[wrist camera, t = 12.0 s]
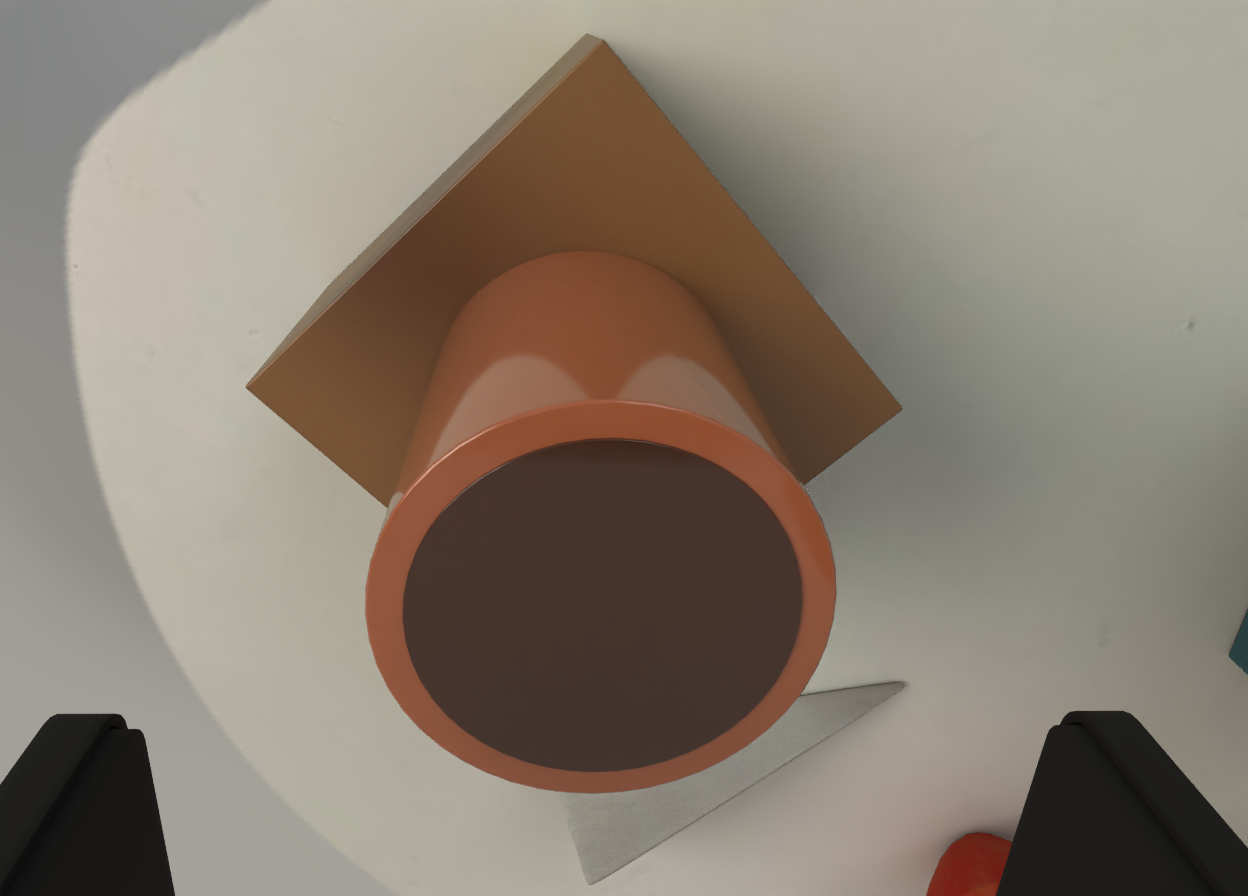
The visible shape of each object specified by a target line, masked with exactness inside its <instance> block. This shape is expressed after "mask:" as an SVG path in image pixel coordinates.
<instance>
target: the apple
mask: <svg viewBox="0 0 1248 896" xmlns="http://www.w3.org/2000/svg"><path fill="white" fill-rule="evenodd" d="M1011 846H1012V842H1010V841H1007V840H1005V839H1002V838H1000V837H997V836H995V835H992V834H987V833H972V834H967V835H965V836H964V837H962V838H961V839H959V840H957V841H956V842H954V843H953V844H952V845H951V846H950V847H949V848H948V850H947V851H946V852H945V853H944V855H943V856H942V857H941V859H940V861H939V863H938V866H937V868H936V870H935V873H934V875H933V877H932V880H931V882H930V884H929V887H928V891H927V895H926V896H995V895H996V892H997V889H998V886H999V883H1000V880H1001V877H1002V874H1003V871H1004V867H1005V864H1006V861H1007V858H1008V855H1009V852H1010V849H1011Z"/></svg>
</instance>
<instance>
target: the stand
mask: <svg viewBox="0 0 1248 896" xmlns="http://www.w3.org/2000/svg"><path fill="white" fill-rule="evenodd" d="M570 251H598V252H607V253H615V254H619V255H623V256H627V257H631V258H634V259H637V260H639V261H642V262H644V263H647V264H649V265H652V266H654V267H656V268H657V269H659V270H661V271H663V272H665V273H666V274H668V275H670V276H671V277H673V278H674V279H675V280H677V281H678V282H679V283H681V284H682V285H683V286H685V287H686V288H687V289H688V290H689V291H690V292H691V293H692V294H693V295H694V296H695V297H696V298H697V299H698V300H699V301H700V302H701V303H702V305H703V306H704V307H705V309H706V310H707V311H708V313H709V314H710V315H711V317H712V318H713V320H714V322H715V324H716V325H717V327H718V329H719V331H720V333H721V334H722V336H723V338H724V340H725V342H726V344H727V345H728V347H729V349H730V351H731V353H732V355H733V356H734V358H735V360H736V362H737V364H738V366H739V367H740V369H741V371H742V373H743V375H744V377H745V379H746V380H747V382H748V384H749V386H750V388H751V390H752V391H753V393H754V395H755V397H756V399H757V401H758V403H759V404H760V406H761V408H762V410H763V412H764V414H765V415H766V417H767V419H768V421H769V423H770V425H771V426H772V428H773V430H774V432H775V434H776V436H777V438H778V439H779V441H780V443H781V445H782V447H783V449H784V450H785V452H786V454H787V456H788V458H789V460H790V461H791V463H792V465H793V467H794V469H795V471H796V473H797V474H798V476H799V478H800V480H801V482H802V484H803V485H805V484H806V483H808V482H809V481H810V480H812V479H813V478H814V477H815V476H817V475H818V474H819V473H821V472H822V471H823V470H825V469H826V468H827V467H828V466H830V465H831V464H832V463H834V462H835V461H836V460H837V459H839V458H840V457H841V456H843V455H844V454H845V453H847V452H848V451H849V450H850V449H852V448H853V447H854V446H856V445H857V444H858V443H860V442H861V441H862V440H863V439H865V438H866V437H867V436H869V435H870V434H871V433H873V432H874V431H875V430H876V429H878V428H879V427H880V426H882V425H883V424H884V423H886V422H887V421H888V420H889V419H891V418H892V417H893V416H895V415H896V414H897V413H898V412H900V411H901V410H902V406H901V405H900V404H899V403H898V401H897V400H896V399H895V398H894V397H893V395H892V394H891V393H890V392H889V390H888V389H887V388H886V387H885V385H884V384H883V383H882V382H881V381H880V379H879V378H878V377H877V376H876V374H875V373H874V372H873V371H872V369H871V368H870V367H869V366H868V365H867V363H866V362H865V361H864V360H863V358H862V357H861V356H860V355H859V353H858V352H857V351H856V350H855V349H854V347H853V346H852V345H851V344H850V342H849V341H848V340H847V339H846V337H845V336H844V335H843V334H842V332H841V331H840V330H839V329H838V328H837V326H836V325H835V324H834V323H833V321H832V320H831V319H830V318H829V316H828V315H827V314H826V313H825V312H824V310H823V309H822V308H821V307H820V305H819V304H818V303H817V302H816V300H815V299H814V298H813V297H812V296H811V294H810V293H809V292H808V291H807V289H806V288H805V287H804V286H803V284H802V283H801V282H800V281H799V280H798V278H797V277H796V276H795V275H794V273H793V272H792V271H791V270H790V268H789V267H788V266H787V265H786V263H785V262H784V261H783V260H782V259H781V257H780V256H779V255H778V254H777V252H776V251H775V250H774V249H773V247H772V246H771V245H770V244H769V243H768V241H767V240H766V239H765V238H764V236H763V235H762V234H761V233H760V231H759V230H758V229H757V228H756V227H755V225H754V224H753V223H752V222H751V220H750V219H749V218H748V217H747V215H746V214H745V213H744V212H743V211H742V209H741V208H740V207H739V206H738V204H737V203H736V202H735V201H734V199H733V198H732V197H731V196H730V194H729V193H728V192H727V191H726V190H725V188H724V187H723V186H722V185H721V183H720V182H719V181H718V180H717V178H716V177H715V176H714V175H713V174H712V172H711V171H710V170H709V169H708V167H707V166H706V165H705V164H704V162H703V161H702V160H701V159H700V158H699V156H698V155H697V154H696V153H695V151H694V150H693V149H692V148H691V146H690V145H689V144H688V143H687V142H686V140H685V139H684V138H683V137H682V135H681V134H680V133H679V132H678V130H677V129H676V128H675V127H674V125H673V124H672V123H671V122H670V121H669V119H668V118H667V117H666V116H665V114H664V113H663V112H662V111H661V109H660V108H659V107H658V106H657V105H656V103H655V102H654V101H653V100H652V98H651V97H650V96H649V95H648V93H647V92H646V91H645V90H644V89H643V87H642V86H641V85H640V84H639V82H638V81H637V80H636V79H635V77H634V76H633V75H632V74H631V73H630V71H629V70H628V69H627V68H626V66H625V65H624V64H623V63H622V61H621V60H620V59H619V58H618V56H617V55H616V54H615V53H614V52H613V50H612V49H611V48H610V47H609V45H608V44H607V43H606V42H605V41H604V40H602V39H599V38H597V37H594V36H592V35H590V34H585V35H584V36H583V37H582V38H581V39H580V40H579V41H578V42H577V43H576V44H575V45H574V46H573V47H572V48H571V49H570V50H569V51H568V52H567V53H566V54H565V55H564V56H563V57H562V58H561V59H560V60H559V61H558V62H557V63H556V64H555V65H554V66H553V67H551V68H550V69H549V70H548V71H547V72H546V73H545V74H544V75H543V76H542V77H541V78H540V79H539V80H538V81H537V82H536V83H535V84H534V85H533V86H532V87H531V88H530V89H529V90H528V91H527V92H526V93H525V94H524V95H523V96H522V97H521V98H520V99H519V100H518V101H517V102H516V103H515V104H514V105H513V106H512V107H511V108H510V109H509V110H508V111H507V112H506V113H504V114H503V115H502V116H501V117H500V118H499V119H498V120H497V121H496V122H495V123H494V124H493V125H492V126H491V127H490V128H489V129H488V130H487V131H486V132H485V133H484V134H483V135H482V136H481V137H480V138H479V139H478V140H477V141H476V142H475V143H474V144H473V145H472V146H471V147H470V148H469V149H468V150H467V151H466V152H465V153H464V154H463V155H462V156H461V157H460V158H459V159H458V160H456V161H455V162H454V163H453V164H452V165H451V166H450V167H449V168H448V169H447V170H446V171H445V172H444V173H443V174H442V175H441V176H440V177H439V178H438V179H437V180H436V181H435V182H434V183H433V184H432V185H431V186H430V187H429V188H428V189H427V190H426V191H425V192H424V193H423V194H422V195H421V196H420V197H419V198H418V199H417V200H416V201H415V202H414V203H413V204H412V205H411V206H409V207H408V208H407V209H406V210H405V211H404V212H403V213H402V214H401V215H400V216H399V217H398V218H397V219H396V220H395V221H394V222H393V223H392V224H391V225H390V226H389V227H388V228H387V229H386V230H385V231H384V232H383V233H382V234H381V235H380V236H379V237H378V238H377V239H376V240H375V241H374V242H373V243H372V244H371V245H370V246H369V247H368V248H367V249H366V250H365V251H364V252H362V253H361V254H360V255H359V256H358V257H357V258H356V259H355V260H354V261H353V262H352V263H351V264H350V265H349V266H348V267H347V268H346V269H345V270H344V271H343V272H342V273H341V274H340V275H339V276H338V277H337V278H336V279H335V280H334V281H333V282H332V283H331V284H330V285H329V286H328V287H327V288H326V289H325V291H324V292H323V293H322V294H321V296H320V297H319V298H318V299H317V300H316V302H315V303H314V304H313V305H312V306H311V308H310V309H309V310H308V311H307V312H306V314H305V315H304V316H303V317H302V318H301V320H300V321H299V322H298V323H297V325H296V326H295V327H294V328H293V329H292V331H291V332H290V333H289V334H288V335H287V337H286V338H285V339H284V340H283V341H282V343H281V344H280V345H279V346H278V347H277V349H276V350H275V351H274V352H273V354H272V355H271V356H270V357H269V358H268V360H267V361H266V362H265V363H264V364H263V366H262V367H261V368H260V369H259V370H258V372H257V373H256V374H255V375H254V376H253V378H252V379H251V380H250V381H249V383H248V384H247V385H246V388H247V389H248V390H249V391H250V392H251V393H252V394H254V395H255V396H256V397H257V398H258V399H259V400H261V401H262V402H263V403H264V404H265V405H266V406H268V407H269V408H270V409H271V410H272V411H274V412H275V413H276V414H277V415H278V416H279V417H281V418H282V419H283V420H284V421H285V422H286V423H288V424H289V425H290V426H291V427H292V428H294V429H295V430H296V431H297V432H298V433H299V434H301V435H302V436H303V437H304V438H305V439H307V440H308V441H309V442H310V443H311V444H312V445H314V446H315V447H316V448H317V449H318V450H319V451H321V452H322V453H323V454H324V455H325V456H327V457H328V458H329V459H330V460H331V461H332V462H334V463H335V464H336V465H337V466H338V467H340V468H341V469H342V470H343V471H344V472H345V473H347V474H348V475H349V476H350V477H351V478H352V479H354V480H355V481H356V482H357V483H358V484H360V485H361V486H362V487H363V488H364V489H365V490H367V491H368V492H369V493H370V494H371V495H373V496H374V497H375V498H376V499H377V500H378V501H380V502H381V503H382V504H383V505H384V506H385V507H387V508H388V506H389V503H390V500H391V497H392V494H393V491H394V488H395V485H396V482H397V479H398V476H399V473H400V470H401V467H402V464H403V461H404V458H405V455H406V452H407V449H408V446H409V443H410V440H411V437H412V434H413V431H414V428H415V425H416V422H417V419H418V416H419V413H420V410H421V407H422V404H423V401H424V397H425V394H426V391H427V388H428V385H429V382H430V379H431V376H432V373H433V370H434V367H435V364H436V361H437V358H438V355H439V352H440V350H441V347H442V344H443V341H444V339H445V337H446V335H447V333H448V331H449V329H450V327H451V325H452V323H453V322H454V320H455V319H456V317H457V316H458V314H459V313H460V312H461V310H462V309H463V307H464V306H465V305H466V304H467V303H468V302H469V301H470V300H471V299H472V298H473V297H474V295H475V294H476V293H477V292H478V291H480V290H481V289H482V288H483V287H485V286H486V285H487V284H488V283H490V282H491V281H492V280H493V279H495V278H496V277H498V276H500V275H501V274H503V273H505V272H506V271H508V270H510V269H511V268H513V267H516V266H518V265H520V264H523V263H525V262H527V261H530V260H533V259H536V258H540V257H543V256H547V255H550V254H556V253H563V252H570Z"/></svg>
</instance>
